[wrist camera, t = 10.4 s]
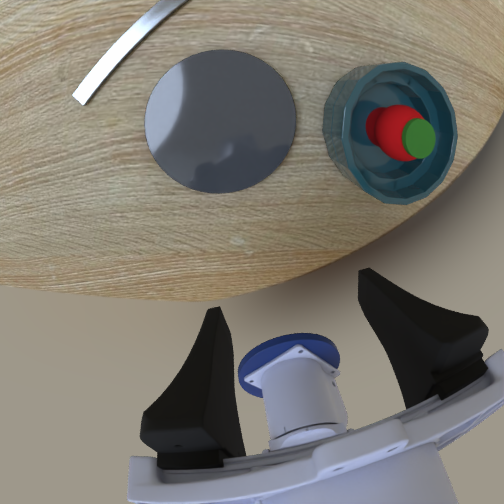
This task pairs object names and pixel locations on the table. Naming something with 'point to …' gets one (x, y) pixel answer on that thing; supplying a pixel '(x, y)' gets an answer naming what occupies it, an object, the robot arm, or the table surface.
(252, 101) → the plate
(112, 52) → the fork
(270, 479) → the robot arm
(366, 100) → the bowl
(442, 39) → the table surface
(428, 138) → the strawberry
